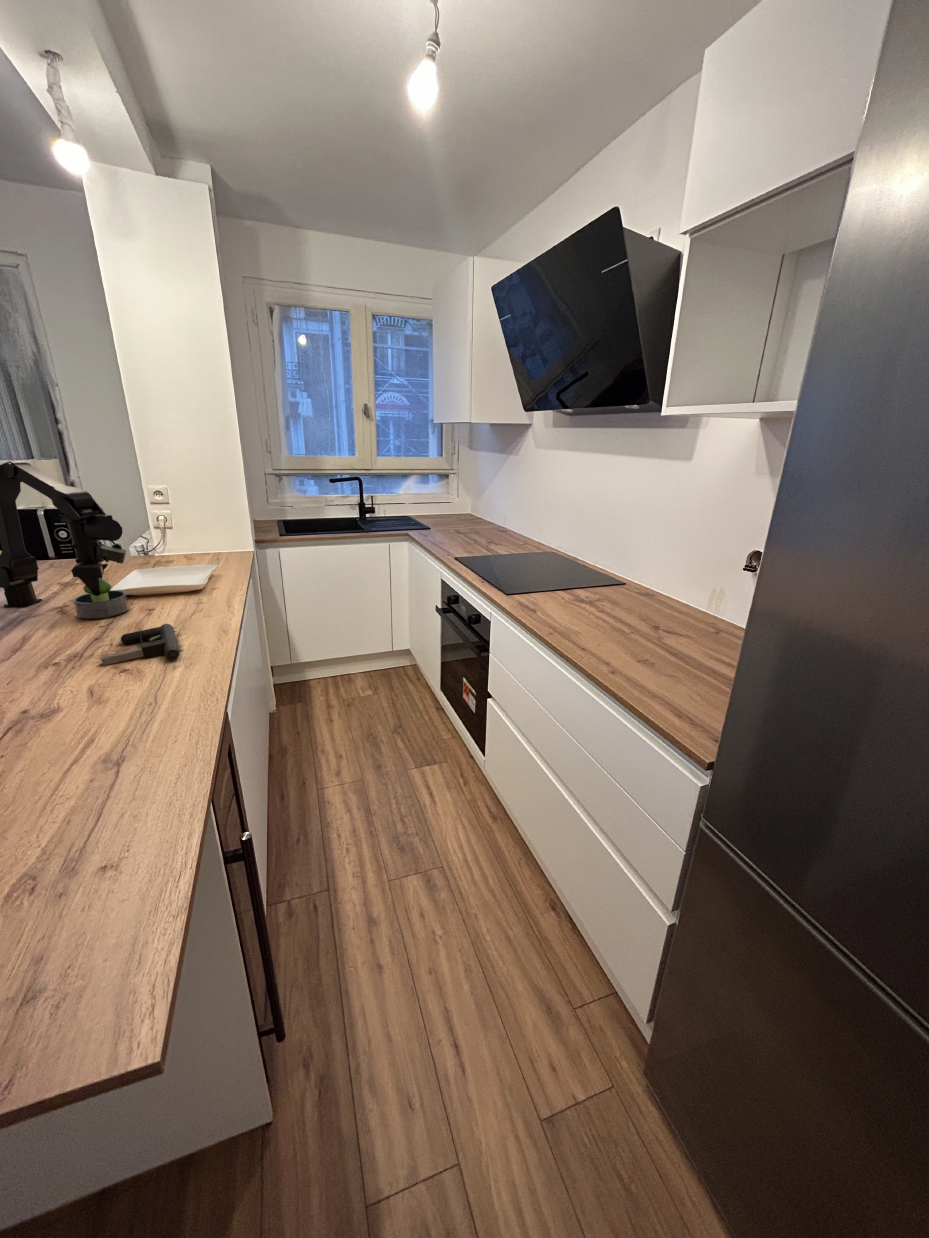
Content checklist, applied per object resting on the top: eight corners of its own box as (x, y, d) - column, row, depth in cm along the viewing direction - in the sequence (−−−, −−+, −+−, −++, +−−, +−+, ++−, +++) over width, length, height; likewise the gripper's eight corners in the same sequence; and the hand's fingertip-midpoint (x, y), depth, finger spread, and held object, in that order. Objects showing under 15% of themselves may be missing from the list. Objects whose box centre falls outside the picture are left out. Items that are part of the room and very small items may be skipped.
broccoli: (86, 607, 135) (79, 581, 133) (89, 602, 140) (82, 576, 137) (114, 604, 138) (107, 578, 136) (115, 599, 143) (109, 574, 140)
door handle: (98, 665, 103) (183, 645, 111) (101, 635, 118) (175, 620, 127) (103, 679, 104) (187, 658, 112) (105, 647, 120) (179, 631, 128)
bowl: (96, 606, 146) (92, 590, 144) (138, 606, 146) (134, 590, 144) (67, 620, 134) (62, 603, 132) (112, 620, 135) (107, 603, 133)
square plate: (219, 573, 183) (217, 563, 181) (207, 594, 158) (205, 582, 157) (136, 577, 175) (134, 567, 173) (110, 600, 150) (107, 588, 149)
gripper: (116, 542, 129) (129, 598, 134) (123, 531, 144) (134, 581, 149) (64, 546, 123) (80, 604, 129) (76, 533, 139) (90, 586, 144)
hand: (98, 593), depth 138 cm, fingers closed on broccoli, 5 cm apart
